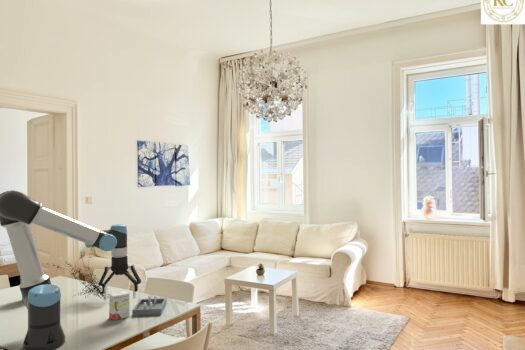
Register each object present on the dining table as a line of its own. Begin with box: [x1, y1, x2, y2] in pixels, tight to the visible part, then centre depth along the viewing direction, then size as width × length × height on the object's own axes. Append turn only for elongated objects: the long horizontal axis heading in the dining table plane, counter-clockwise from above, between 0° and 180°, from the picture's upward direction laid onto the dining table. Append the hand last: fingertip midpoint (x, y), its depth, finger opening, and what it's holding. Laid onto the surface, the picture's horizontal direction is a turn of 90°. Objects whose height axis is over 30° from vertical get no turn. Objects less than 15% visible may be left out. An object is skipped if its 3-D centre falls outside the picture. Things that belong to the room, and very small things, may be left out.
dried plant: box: [41, 248, 111, 301], centre depth 220 cm, size 30×31×45 cm
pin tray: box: [132, 294, 168, 317], centre depth 202 cm, size 18×14×6 cm
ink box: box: [108, 290, 130, 321], centre depth 191 cm, size 9×5×12 cm, turn 129°
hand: (120, 298), depth 191 cm, fingers open, 13 cm apart
